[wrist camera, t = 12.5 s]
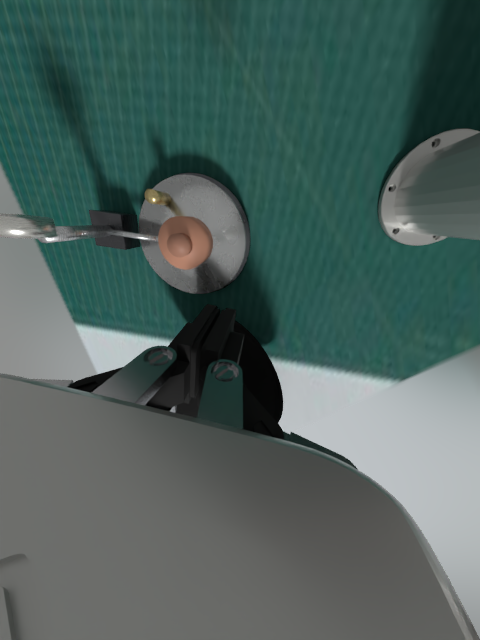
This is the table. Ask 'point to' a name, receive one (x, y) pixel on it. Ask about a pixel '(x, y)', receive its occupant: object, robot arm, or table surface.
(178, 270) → the disc
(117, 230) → the metal lever
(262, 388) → the car wheel rim
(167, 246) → the cover
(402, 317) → the table surface
